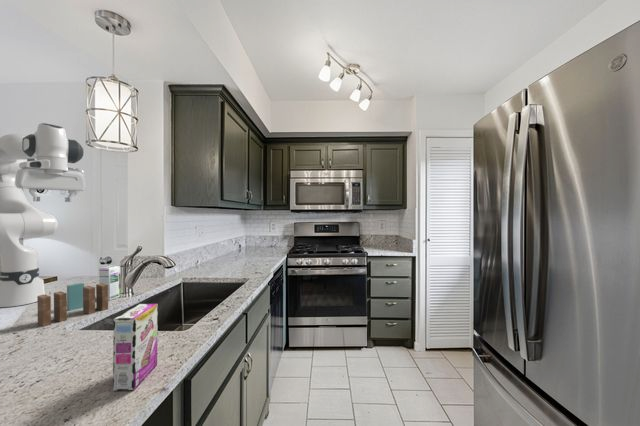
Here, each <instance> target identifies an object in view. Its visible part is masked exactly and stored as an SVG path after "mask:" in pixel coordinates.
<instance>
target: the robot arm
mask: <svg viewBox="0 0 640 426" xmlns="http://www.w3.org/2000/svg"><path fill="white" fill-rule="evenodd" d="M67 137H68V136H67V132H66V129H65V128H64V127H63V126H60V125H56V124H51V123H46V122H45V123H44V122H42V123H39V124H38V125H37V129H36V131H35V132H34V133H31V134H28V135H22V134H18V133H11V134H10V133H9V134H5V135H3V136H0V265H1V267H0V268H1V270H0V308H11V307H18V306H23V305H24V306H25V305H28V304H33V303H36V302H37V296H39V295H44V294H45V295H48V296H50V295H49V293H45V282H44V279H42V278H41V277H40V268H39V267H38V266H39V265H38V262H39V261H38V259H39V258H38V252H37V249H34V248H33V247H30V246H28V245H24V244H21V242H20V239H27V238H28V239H29V238H41V237H46V236H52V235H54V234H55V232H56V231H57V230H58V228H59V222H58V219H57V218H56V217H55V216H54V215H53V214H50V213H48V212H44V211H42V210H40V209H38V208H36V207H35V206H33V205H32V204H31V203H30V202H29V200H28V198H27V196H26V194H25V192H24V190H25V189H26V190H27V189H28V193H29V194H30V195H31V196H32V200H33V202H41V196H37V194H36V192H37V190H48V191H66V192H67V191H68V192H67V194H68V196H67V197H64V202H65V203H72V198H73V197H74V195H75V194H76V193H75V192H84V191H85V189H86V182H85V181H86V180H85V178H86V176H85V175H86V174H85V171H84V170H82V169H81V168H74V167H69V166H68V164H73V165H74V164H76V163H78V162H79V161H81V160H82V159H83V157H84V153H85V152H84V148H83V146H82V144H80V143H79V142H78V141H77V140H76V139H71V138H67ZM23 189H24V190H23Z"/></svg>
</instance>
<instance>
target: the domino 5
mask: <svg viewBox="0 0 640 426" xmlns="http://www.w3.org/2000/svg"><path fill="white" fill-rule="evenodd" d="M96 309H97V310H98V311H102V312H104V311H106V310H109V300H108V285H107V284H102V283H101V284H99V283H97V284H95V310H96Z"/></svg>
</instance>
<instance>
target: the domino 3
mask: <svg viewBox="0 0 640 426" xmlns="http://www.w3.org/2000/svg"><path fill="white" fill-rule="evenodd" d="M83 287H85V283H84V282H77V283H73V284H67V285H66V293H67V311H69V312H70V311H75V310H79V309H83Z"/></svg>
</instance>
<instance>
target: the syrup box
mask: <svg viewBox="0 0 640 426" xmlns="http://www.w3.org/2000/svg"><path fill="white" fill-rule="evenodd" d="M101 283H102V284H107V285H108V301H112V300H114V299H117V298H118V299H119V298H121V297H120V296H122V294H121V290H122V289H121V288H122V287H121V266H120V265H109V266H104V267H99V268H98V284H101Z"/></svg>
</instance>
